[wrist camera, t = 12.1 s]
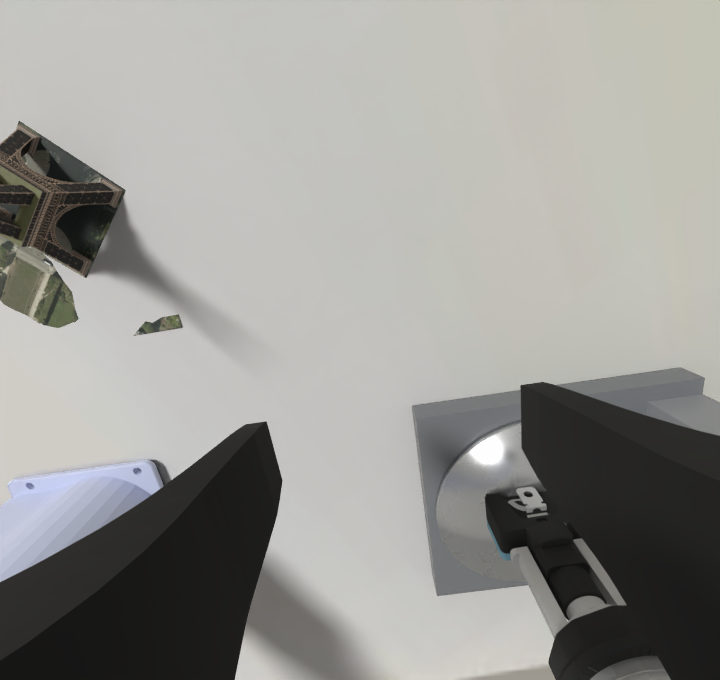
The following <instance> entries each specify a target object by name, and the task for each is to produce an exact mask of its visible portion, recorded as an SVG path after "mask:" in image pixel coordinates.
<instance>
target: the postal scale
mask: <svg viewBox="0 0 720 680" xmlns="http://www.w3.org/2000/svg"><path fill="white" fill-rule="evenodd" d="M704 380H705V378H704V377H702V376H699V375H697V374H695V373H692V372H690V371H688V370H685V369H683V368H674V369H667V370H660V371H653V372H646V373H639V374H632V375H625V376H618V377H611V378H604V379H597V380H590V381H582V382H575V383H568V384H561V385H556V386H560V387H563V388H566V389H569V390H572V391H575V392H578V393H581V394H584V395H587V396H589V397H592V398H595V399H598V400H601V401H604V402H607V403H610V404H613V405H616V406H619V407H622V408H625V409H628V410H631V411H634V412H637V413H640V414H643V415H646V416H650V417H653V418H656V419H660V420H663V421H666V422H670V423H673V424H676V425H680V426H683V427H687V428H691V429H695V430H698V431H702V432H706V433H710V434H715V435H719V436H720V402H718V401H716V400H714V399H711V398H709V397H707V396H705V395H703V394H702V393H703V386H704ZM412 410H413V418H414V427H415V435H416V443H417V451H418V460H419V468H420V476H421V484H422V492H423V501H424V509H425V517H426V525H427V534H428V542H429V550H430V558H431V567H432V575H433V580H434V584H435V589H436V593H437V596H441V595H450V594H458V593H466V592H474V591H482V590H491V589H499V588H507V587H515V586H524V585H528V583H527V581H526V579H525V577H524V575H523V573H522V571H521V568H520V567H515V566H514V565H513V563H512V560H510V561H508V560H504V559H502V557H501V556H500V554H499V552H498V549H497V547H496V545H495V542H494V540H493V538H492V536H491V533H490V531H489V529H488V527H487V518H486V507H485V497H486V496H487V495H491V494H499V495H501V496H502V497H510V496H516V495H518V494H517V493H516V490H517V489H518V488H524V487H533V488H535V489H536V491H537V492H542V491H546V489H545V488H544V486H543V485H542V484H541V482H540V481H539V479H538V477H537V476H536V474H535V472H534V470H533V469H532V467H531V465H530V463H529V461H528V459H527V458H526V456H525V454H524V452H523V450H522V446H521V390H519V391H512V392H505V393H498V394H491V395H484V396H477V397H470V398H463V399H456V400H449V401H442V402H435V403H428V404H421V405H414V406H412ZM529 493H530V492H525V493H524V494H529Z"/></svg>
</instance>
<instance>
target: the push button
mask: <svg viewBox="0 0 720 680" xmlns="http://www.w3.org/2000/svg"><path fill="white" fill-rule="evenodd" d="M525 492H530V493H529V494H524V493H525ZM516 493H517V494H518V495H516V496H510V497H502V496H501V495H499V494H491V495H487V496H486V497H485V507H486V518H487V527H488V529H489V531H490V533H491V536H492V538H493V540H494V542H495V545H496V547H497V549H498V552H499V554H500V556H501V557H502V559H504V560H508V561H510V560H512V563H513V565H514V566H515V567H520V568H521V571H522V573H523V575H524V577H525V579H526V581H527V583H528V585H529V587H530V589H531V591H532V593H533V595H534V597H535V599H536V602H537V604H538V606H539V608H540V610H541V612H542V614H543V616H544V618H545V620H546V622H547V624H548V626H549V628H550V630H551V633H552V635H553V637H554V639H555V640H554V643H553V647H552V650H551V654H550V657H549V665H550V668H551V670H552V672H553V674H554V677H555V679H556V680H671V679H670V677H669V676H668V674H667V672H666V670H665V669H664V667H663V665H662V664H661V662H660V660H659V658H658V657H657V655H656V653H655V652H654V650H653V648H652V647H651V645H650V643H649V641H648V640H647V638H646V636H645V635H644V633H643V631H642V629H641V628H640V626H639V624H638V623H637V621H636V619H635V618H634V616H633V615H632V613H631V611H630V610H629V608H628V606H627V605H626V603H625V601H624V600H623V598H622V597H621V595H620V593H619V592H618V590H617V588H616V587H615V585H614V584H613V582H612V580H611V579H610V577H609V576H608V574H607V573H606V571H605V570H604V568H603V567H602V566H601V564H600V563H599V561H598V560H597V558H596V557H595V555H594V554H593V553H592V551H591V550H590V549H589V547H588V546H587V545H586V543H585V542H584V541H583V539H582V538H581V537H580V535H579V534H578V533H577V531H576V530H575V529H574V527H573V526H572V524H571V523H570V522H569V520H568V519H567V518H566V516H565V515H564V514H563V512H562V511H561V510H560V508H559V507H558V506H557V504H556V503H555V502H554V500H553V499H552V497H551V496H550V495H549V493H548V492H547V491H542V492H537V491H536V489H535V488H533V487H524V488H518V489H517V490H516ZM566 619H568V620H569V621H568V622H567V620H566Z"/></svg>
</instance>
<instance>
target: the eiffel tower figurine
mask: <svg viewBox="0 0 720 680" xmlns="http://www.w3.org/2000/svg"><path fill="white" fill-rule="evenodd" d="M125 191H126V190H125V189H123V188H121V187H120V186H118V185H117V184H115V183H114V182H112V181H111V180H109V179H108V178H106V177H105V176H103V175H102V174H100V173H98V172H97V171H95V170H94V169H92V168H91V167H89V166H88V165H86V164H85V163H83V162H82V161H80V160H78V159H77V158H75V157H74V156H72V155H71V154H69V153H68V152H66V151H65V150H63V149H62V148H60V147H59V146H57V145H55V144H54V143H52V142H51V141H49V140H48V139H46V138H45V137H43V136H42V135H40V134H39V133H37V132H35V131H34V130H32V129H31V128H29V127H28V126H26V125H25V124H23V123H22V122H20V121H19V123H18V125H17V128H16V131H15V132H13V133H12V134H11V135H10V136H9V137H8V138H7V139H5V140H4V141H3V142H2V143H1V144H0V300H1V301H2V302H3V304H5V305H6V306H8V307H10V308H12V309H14V310H16V311H18V312H21V313H23V314H25V315H27V316H29V317H30V318H32V319H33V320H35V321H37V322H38V323H42V324H43V325H47V326H51V327H56V328H60V327H62V326H65V325H67V324H69V323H72V322H76V321H77V320H78V316H77V313H76V311H75V306H74V300H73V295H72V292H71V290H70V289H69V288H68V287H67V285H66V284H65V283H64V281H63V280H62V278H61V277H60V275H59V274H58V272H57V271H56V269H55V268H54V266H53V264H52V262H51V261H50V260H49V259H48V258H47V257H46V256H45V255H44V254H46V255H47V256H49V257H51V258H52V259H54V260H56V261H57V262H59V263H61V264H63V265H64V266H66V267H68V268H69V269H71V270H73V271H75V272H76V273H78V274H80V275H81V276H83V277H85V278H86V277H87V275H88V272H89V270H90V268H91V266H92V263H93V261H94V259H95V257H96V255H97V252H98V250H99V248H100V246H101V244H102V241H103V239H104V237H105V235H106V233H107V230H108V228H109V226H110V224H111V222H112V219H113V217H114V215H115V213H116V210H117V208H118V206H119V204H120V202H121V199H122V197H123V195H124V193H125ZM43 253H44V254H43ZM180 327H182V326H181V322H180V318H179V315H173V316H168V317H162V318H160V319H158V320H157V321H155V322H153V323H150V322H145V323H144V324H143V325H142V326H141V327H140V329H139V330H138V331H137V332H136V333H135V335H141V334H146V333H151V332H157V331H162V330H168V329H174V328H180ZM135 335H134V336H135Z"/></svg>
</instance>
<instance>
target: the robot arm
mask: <svg viewBox="0 0 720 680" xmlns="http://www.w3.org/2000/svg"><path fill="white" fill-rule="evenodd" d="M521 446H522V450H523V452H524V454H525V456H526V458H527V459H528V461H529V463H530V465H531V467H532V469H533V470H534V472H535V474H536V476H537V477H538V479H539V481H540V482H541V484H542V485H543V486H544V488H545V489H546V491H547V492H548V493H549V495H550V496H551V497H552V499H553V500H554V502H555V503H556V504H557V506H558V507H559V508H560V510H561V511H562V512H563V514H564V515H565V516H566V518H567V519H568V520H569V522H570V523H571V524H572V526H573V527H574V529H575V530H576V531H577V533H578V534H579V535H580V537H581V538H582V539H583V541H584V542H585V543H586V545H587V546H588V547H589V549H590V550H591V551H592V553H593V554H594V555H595V557H596V558H597V560H598V561H599V563H600V564H601V566H602V567H603V568H604V570H605V571H606V573H607V574H608V576H609V577H610V579H611V580H612V582H613V584H614V585H615V587H616V588H617V590H618V592H619V593H620V595H621V597H622V598H623V600H624V601H625V603H626V605H627V606H628V608H629V610H630V611H631V613H632V615H633V616H634V618H635V619H636V621H637V623H638V624H639V626H640V628H641V629H642V631H643V633H644V635H645V636H646V638H647V640H648V641H649V643H650V645H651V647H652V648H653V650H654V652H655V653H656V655H657V657H658V658H659V660H660V662H661V664H662V665H663V667H664V669H665V670H666V672H667V674H668V676H669V677H670V679H671V680H720V436H719V435H715V434H710V433H706V432H702V431H698V430H695V429H691V428H687V427H683V426H680V425H676V424H673V423H670V422H666V421H663V420H660V419H656V418H653V417H650V416H646V415H643V414H640V413H637V412H634V411H631V410H628V409H625V408H622V407H619V406H616V405H613V404H610V403H607V402H604V401H601V400H598V399H595V398H592V397H589V396H587V395H584V394H581V393H578V392H575V391H572V390H569V389H566V388H563V387H560V386H556V385H553V384H549V383H545V382H540V383H533V384H526V385H521ZM137 468H139V469H140V470H138V469H137ZM281 487H282V478H281V474H280V470H279V466H278V463H277V459H276V455H275V451H274V448H273V444H272V440H271V437H270V433H269V429H268V425H267V422H260V423H253V424H246V425H244V426H243V427H241V428H239V429H238V430H237V431H235V432H234V433H232V434H231V435H230V436H229V437H227V438H226V439H225V440H223V441H222V442H221V443H220V444H218V445H217V446H216V447H215V448H213V449H212V450H211V451H209V452H208V453H207V454H206V455H204V456H203V457H202V458H201V459H199V460H198V461H197V462H196V463H194V464H193V465H192V466H190V467H189V468H188V469H186V470H185V471H184V472H182V473H181V474H180V475H178V476H177V477H176V478H174V479H173V480H171V481H170V482H169V483H167V484H166V485H165V486H164V485H163V483H162V480H161V478H160V475H159V472H158V470H157V467H156V465H155V464H154V463H153V462H152V461H150V460H142V461H134V462H127V463H120V464H113V465H106V466H99V467H92V468H85V469H77V470H70V471H63V472H56V473H49V474H42V475H35V476H28V477H20V478H15V479H13V480H12V481H11V482H9V483H8V490H9V491H10V493H11V495H12V497H11V498H10V499H9V500H8V501H6V502H5V503H4V504H2V505H1V506H0V680H235V675H236V669H237V664H238V660H239V655H240V650H241V645H242V640H243V635H244V630H245V625H246V621H247V617H248V613H249V609H250V605H251V601H252V598H253V594H254V591H255V588H256V584H257V581H258V578H259V574H260V571H261V568H262V564H263V561H264V558H265V554H266V551H267V548H268V544H269V541H270V538H271V534H272V531H273V527H274V524H275V520H276V517H277V512H278V506H279V500H280V494H281Z"/></svg>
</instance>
